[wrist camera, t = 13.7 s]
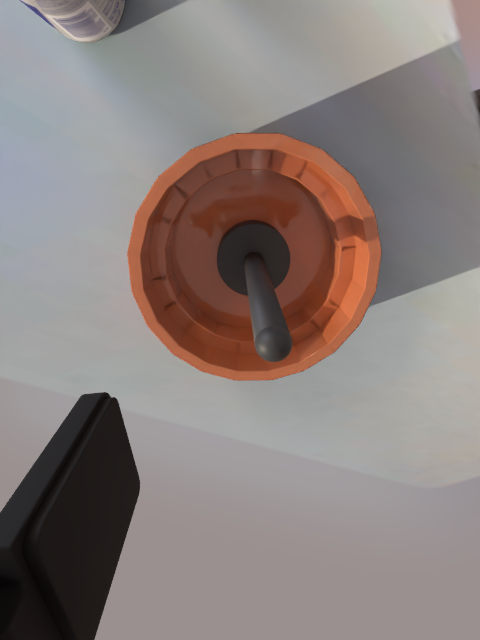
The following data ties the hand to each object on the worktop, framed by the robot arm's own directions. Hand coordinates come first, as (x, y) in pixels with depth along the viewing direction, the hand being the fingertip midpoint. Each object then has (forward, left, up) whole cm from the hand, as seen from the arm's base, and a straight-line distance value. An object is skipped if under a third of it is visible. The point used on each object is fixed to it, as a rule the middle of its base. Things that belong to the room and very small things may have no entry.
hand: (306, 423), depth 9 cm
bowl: (0, 0, -21) cm, 21 cm away
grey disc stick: (0, 0, -20) cm, 20 cm away
